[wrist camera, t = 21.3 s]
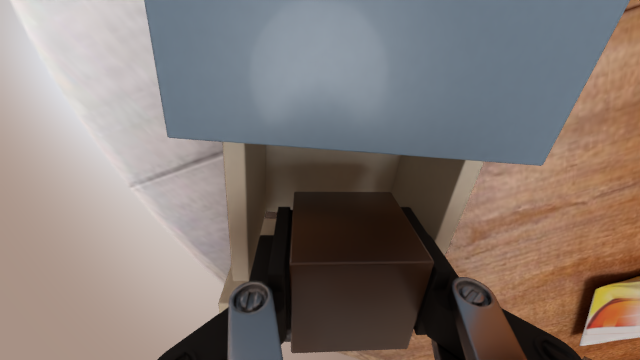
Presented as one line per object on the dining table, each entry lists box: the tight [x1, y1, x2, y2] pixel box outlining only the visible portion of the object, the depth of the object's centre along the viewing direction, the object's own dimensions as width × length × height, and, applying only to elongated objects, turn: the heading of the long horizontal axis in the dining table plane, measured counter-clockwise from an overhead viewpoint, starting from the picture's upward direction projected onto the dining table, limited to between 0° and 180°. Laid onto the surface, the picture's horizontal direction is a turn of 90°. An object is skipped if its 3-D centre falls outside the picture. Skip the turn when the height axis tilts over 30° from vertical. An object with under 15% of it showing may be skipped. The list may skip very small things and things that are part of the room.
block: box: [289, 192, 434, 353], centre depth 11 cm, size 4×4×4 cm
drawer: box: [218, 142, 484, 342], centre depth 15 cm, size 20×11×7 cm, turn 174°
